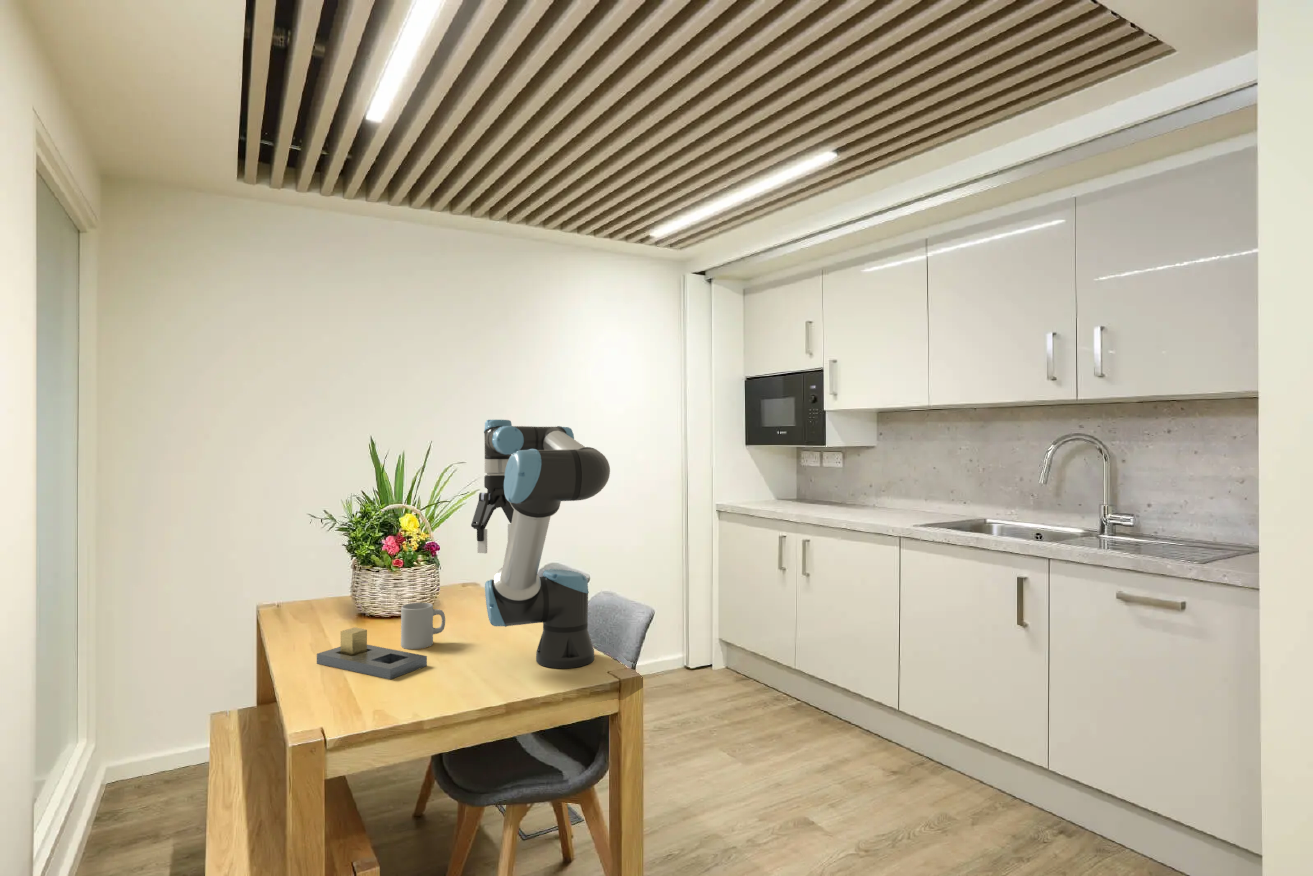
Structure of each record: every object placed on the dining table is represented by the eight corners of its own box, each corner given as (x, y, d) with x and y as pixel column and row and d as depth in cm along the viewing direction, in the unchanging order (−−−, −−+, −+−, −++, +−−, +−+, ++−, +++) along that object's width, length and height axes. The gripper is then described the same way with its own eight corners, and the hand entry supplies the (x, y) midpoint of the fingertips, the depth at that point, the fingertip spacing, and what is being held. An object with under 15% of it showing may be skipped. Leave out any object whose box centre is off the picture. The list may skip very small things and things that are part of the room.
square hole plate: (426, 665, 191) (426, 656, 191) (390, 679, 180) (390, 669, 180) (354, 651, 203) (355, 642, 203) (316, 663, 192) (316, 653, 192)
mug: (403, 651, 204) (403, 610, 204) (398, 643, 211) (398, 604, 211) (448, 645, 209) (448, 606, 209) (441, 638, 217) (442, 600, 217)
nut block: (366, 660, 195) (366, 629, 195) (352, 664, 191) (352, 633, 191) (355, 657, 198) (355, 627, 197) (340, 662, 194) (340, 631, 193)
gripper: (513, 472, 224) (513, 543, 224) (458, 475, 202) (457, 554, 202) (534, 472, 221) (534, 544, 221) (480, 476, 199) (480, 556, 199)
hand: (497, 549), depth 211 cm, fingers open, 13 cm apart
